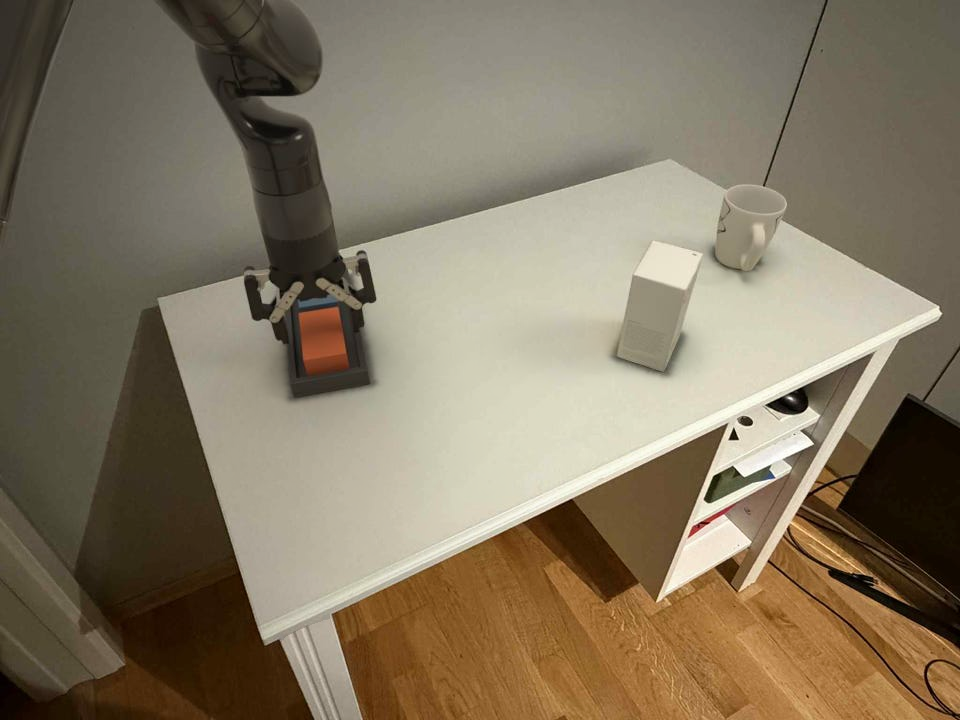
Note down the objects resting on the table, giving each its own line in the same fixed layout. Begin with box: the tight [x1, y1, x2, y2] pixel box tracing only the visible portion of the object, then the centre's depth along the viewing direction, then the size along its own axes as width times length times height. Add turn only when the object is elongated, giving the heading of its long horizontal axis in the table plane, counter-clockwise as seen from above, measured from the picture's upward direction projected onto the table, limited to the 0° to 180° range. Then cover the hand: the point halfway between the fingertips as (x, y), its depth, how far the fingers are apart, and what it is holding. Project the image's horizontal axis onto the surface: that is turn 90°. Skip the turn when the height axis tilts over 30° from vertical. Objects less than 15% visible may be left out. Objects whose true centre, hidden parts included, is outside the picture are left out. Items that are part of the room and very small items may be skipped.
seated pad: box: [298, 294, 342, 322], centre depth 86 cm, size 9×5×4 cm, turn 15°
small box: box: [616, 240, 704, 372], centre depth 78 cm, size 8×6×13 cm
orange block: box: [299, 307, 349, 376], centre depth 79 cm, size 9×5×4 cm, turn 15°
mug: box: [714, 183, 788, 272], centre depth 92 cm, size 11×8×10 cm
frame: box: [284, 269, 371, 399], centre depth 84 cm, size 23×9×2 cm, turn 15°
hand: (321, 334), depth 78 cm, fingers open, 8 cm apart
